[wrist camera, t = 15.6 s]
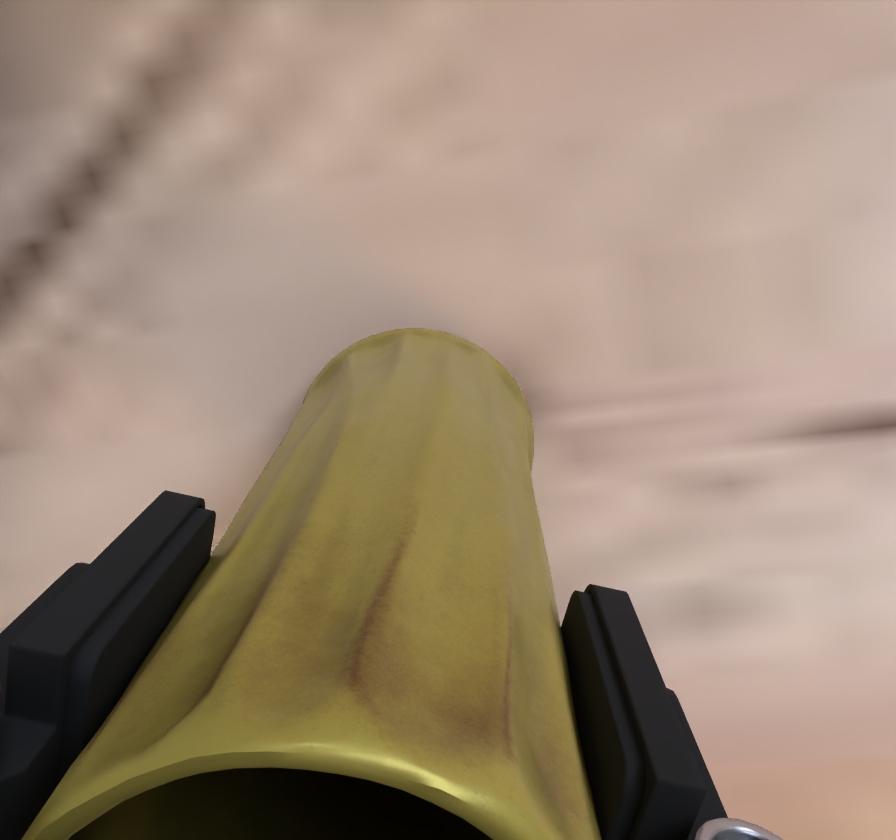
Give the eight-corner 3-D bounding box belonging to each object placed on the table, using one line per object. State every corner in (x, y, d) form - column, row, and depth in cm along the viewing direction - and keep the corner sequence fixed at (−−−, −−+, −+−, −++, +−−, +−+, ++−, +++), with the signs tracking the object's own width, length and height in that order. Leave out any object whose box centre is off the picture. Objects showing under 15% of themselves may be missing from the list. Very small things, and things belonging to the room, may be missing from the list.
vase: (310, 552, 21) (2, 1265, 7) (287, 330, 19) (-192, 696, 5) (534, 546, 20) (674, 1268, 7) (532, 321, 19) (715, 675, 5)
